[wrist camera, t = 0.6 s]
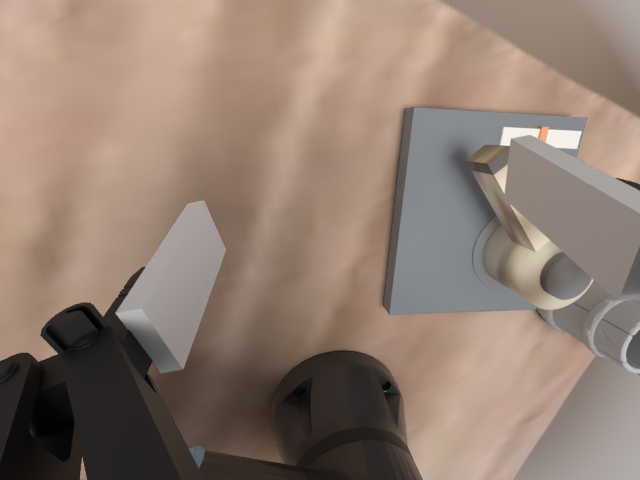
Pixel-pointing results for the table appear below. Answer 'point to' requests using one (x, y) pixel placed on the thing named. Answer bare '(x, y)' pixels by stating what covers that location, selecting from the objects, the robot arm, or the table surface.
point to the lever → (523, 243)
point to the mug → (602, 325)
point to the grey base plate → (454, 209)
